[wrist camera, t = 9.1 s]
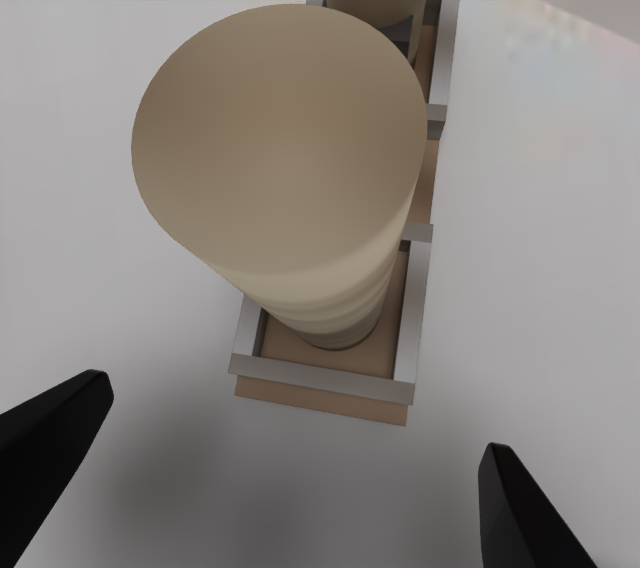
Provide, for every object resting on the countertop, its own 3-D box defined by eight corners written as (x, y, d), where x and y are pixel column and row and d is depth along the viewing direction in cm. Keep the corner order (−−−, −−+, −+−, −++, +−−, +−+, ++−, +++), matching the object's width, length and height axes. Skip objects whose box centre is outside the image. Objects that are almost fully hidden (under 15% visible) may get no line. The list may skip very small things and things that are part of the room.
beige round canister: (374, 358, 17) (407, 292, 5) (281, 343, 18) (96, 248, 5) (388, 256, 18) (446, -18, 6) (300, 245, 19) (179, -30, 6)
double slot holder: (402, 423, 18) (409, 430, 15) (242, 394, 19) (222, 395, 16) (450, 19, 22) (463, -30, 20) (319, 11, 23) (313, -36, 21)
